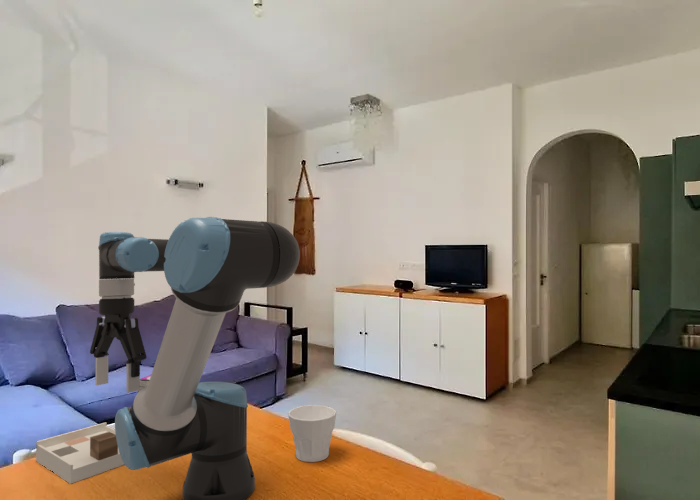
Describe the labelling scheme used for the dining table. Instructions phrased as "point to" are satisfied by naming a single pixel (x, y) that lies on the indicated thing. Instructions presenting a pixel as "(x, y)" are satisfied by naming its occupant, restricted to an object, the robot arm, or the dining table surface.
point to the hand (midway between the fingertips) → (117, 387)
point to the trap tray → (75, 454)
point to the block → (103, 446)
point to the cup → (312, 431)
